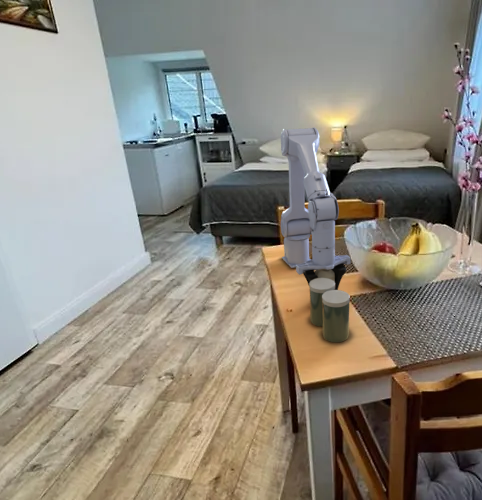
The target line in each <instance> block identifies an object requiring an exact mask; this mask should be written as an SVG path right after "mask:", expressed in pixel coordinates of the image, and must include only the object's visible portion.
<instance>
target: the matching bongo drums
mask: <svg viewBox="0 0 482 500" xmlns="http://www.w3.org/2000/svg"><path fill="white" fill-rule="evenodd" d="M308 288H309V313H310V314H309V315H310V316H309V318H310V322H311V324H312V325H314V326H316V327H322V337H323V339H325V340H326V341H328V342H331V343H341V342H345V341H346V340H347V339H349V337H350V300H351V299H350V297H351V296H350V294H349V293H348V292H346V291H344V290H341V289H338V290H335V282H334V281H333V280H331V279H328V278H317V279H313V280H312V281H310V283H309V285H308Z"/></svg>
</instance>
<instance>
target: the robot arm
mask: <svg viewBox="0 0 482 500" xmlns="http://www.w3.org/2000/svg"><path fill="white" fill-rule="evenodd" d="M319 147H320V133H319V130H318V129H317V127H308V128H288V129H287V128H283V129H282V131H281V133H280V153H281V156H283V157H286V158H287V161H288V162H287V163H288V189H289V191H288V193H289V207H288V208H287V209H286V210H284V211H282V213H281V218H280V231H281V235H282V236H283V237H284V239H283V254H284V256H282V257H281V259H282V260H283V261H284V262H285V264H286V265H288V266H289V267H290V269H295V273H297V274H298V275H303V276H304V278H305V280H306V282H307V284H308V286H309V283H310V281H312V280H313V279H317V278H318V276H317V275H316V274H315V271H316V270H318V269H327V270H329V269H331V270H332V271H333V272H334V273H335V290H339V287H340V284H341V281H342V279H343V277H344V275H345V274H346V272H347V267H346V266H345V265H351V256H349V255H348V254H344V255H343V254H342V255H336V221H338V219H339V213H340V209H339V203H338V200H337V198H336V196H335V195H334V193H333V192H331V191H330V187H329V184H328V181H327V178H326V175H325V174H324V173H323V172H320V168H319V163H318V158H317V153H318V150H319ZM305 194H306V195H305ZM305 196H306V197H305ZM305 198H307V201H308V203H307V208H306V204H305V203H306V201H305V200H306V199H305ZM310 238H311V255H312V258H310Z"/></svg>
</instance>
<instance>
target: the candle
mask: <svg viewBox="0 0 482 500" xmlns="http://www.w3.org/2000/svg"><path fill="white" fill-rule="evenodd" d="M314 272H315V274H316V275H317V276H318V278H328V279H331V280H333V281H334V282H335V273H334V272H333V271H332V270H331V269H329V270H327V269H318V270H314Z"/></svg>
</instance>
